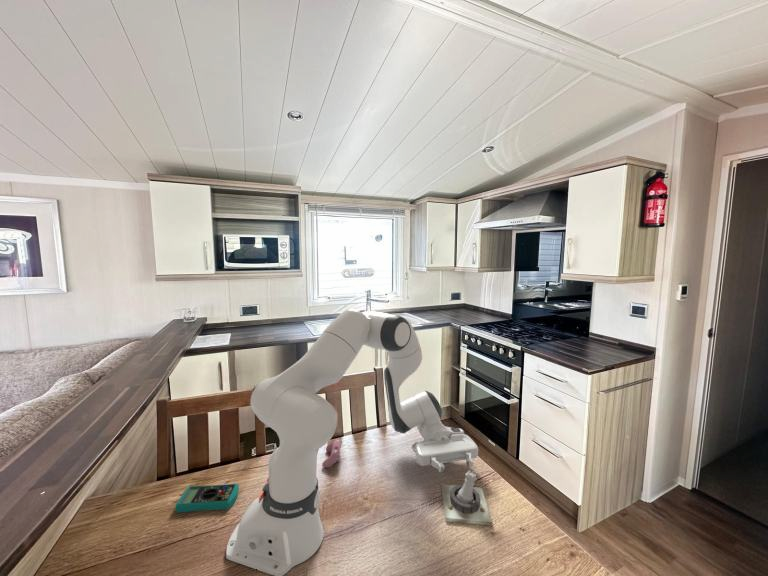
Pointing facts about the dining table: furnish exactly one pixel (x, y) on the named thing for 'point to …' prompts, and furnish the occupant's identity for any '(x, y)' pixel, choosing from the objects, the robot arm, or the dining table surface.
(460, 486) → the socket block
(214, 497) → the digital multimeter
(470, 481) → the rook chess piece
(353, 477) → the dining table surface
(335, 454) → the pink irregular piece
